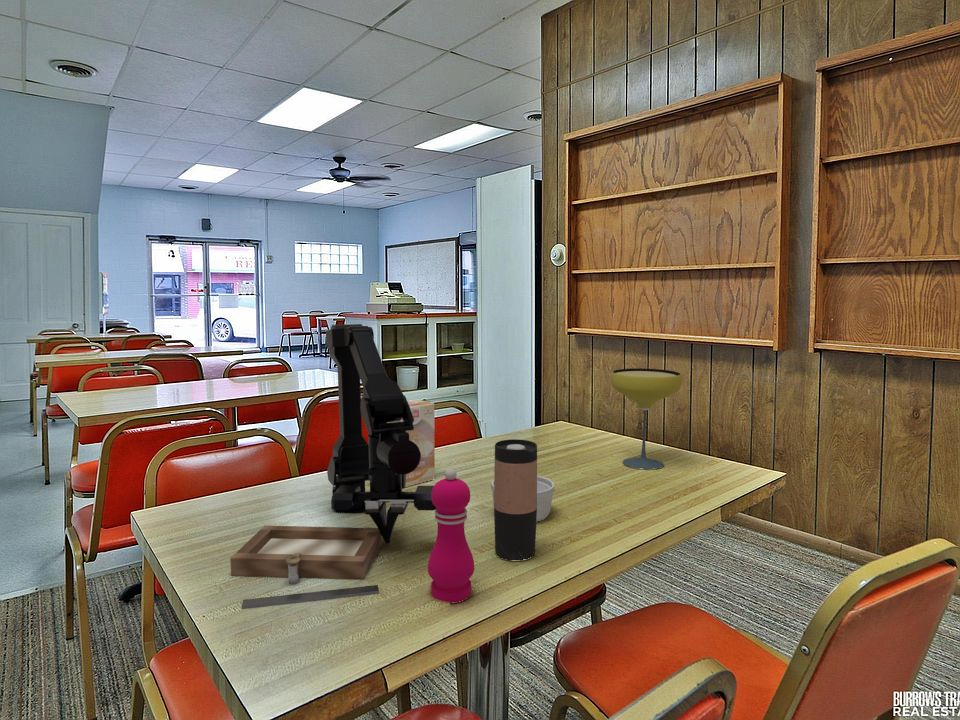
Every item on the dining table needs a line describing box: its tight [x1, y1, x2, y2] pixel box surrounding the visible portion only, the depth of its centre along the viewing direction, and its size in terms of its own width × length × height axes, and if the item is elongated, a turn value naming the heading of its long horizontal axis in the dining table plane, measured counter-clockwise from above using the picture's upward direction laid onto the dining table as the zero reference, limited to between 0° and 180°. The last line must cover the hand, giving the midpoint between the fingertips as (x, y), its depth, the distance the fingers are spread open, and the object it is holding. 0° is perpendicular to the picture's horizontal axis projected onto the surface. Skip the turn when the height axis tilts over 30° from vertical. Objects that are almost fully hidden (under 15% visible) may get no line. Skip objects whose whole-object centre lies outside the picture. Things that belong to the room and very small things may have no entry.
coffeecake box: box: [387, 399, 436, 488], centre depth 150 cm, size 15×7×20 cm, turn 131°
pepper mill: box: [427, 468, 475, 603], centre depth 95 cm, size 7×7×20 cm
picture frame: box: [230, 525, 383, 580], centre depth 106 cm, size 22×17×4 cm
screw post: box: [287, 563, 300, 585], centre depth 99 cm, size 2×2×4 cm
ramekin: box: [490, 475, 555, 523], centre depth 130 cm, size 13×13×7 cm
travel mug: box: [493, 438, 538, 561], centre depth 110 cm, size 8×8×20 cm
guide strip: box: [240, 584, 380, 610], centre depth 94 cm, size 20×2×1 cm, turn 104°
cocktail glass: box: [610, 367, 683, 469], centre depth 166 cm, size 18×18×25 cm
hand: (387, 543), depth 113 cm, fingers closed
